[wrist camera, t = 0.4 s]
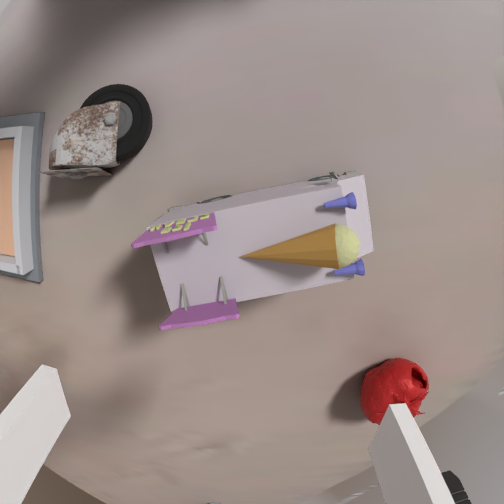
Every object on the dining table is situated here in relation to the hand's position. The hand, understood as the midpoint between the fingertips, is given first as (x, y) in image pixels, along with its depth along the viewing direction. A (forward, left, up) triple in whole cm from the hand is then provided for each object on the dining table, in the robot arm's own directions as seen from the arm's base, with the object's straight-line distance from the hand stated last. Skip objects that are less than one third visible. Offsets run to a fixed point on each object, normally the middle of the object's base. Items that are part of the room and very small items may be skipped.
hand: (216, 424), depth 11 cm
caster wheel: (-11, -17, -26) cm, 33 cm away
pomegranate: (+17, +23, -26) cm, 39 cm away
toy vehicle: (-3, +3, -26) cm, 26 cm away
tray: (-3, -37, -26) cm, 46 cm away
